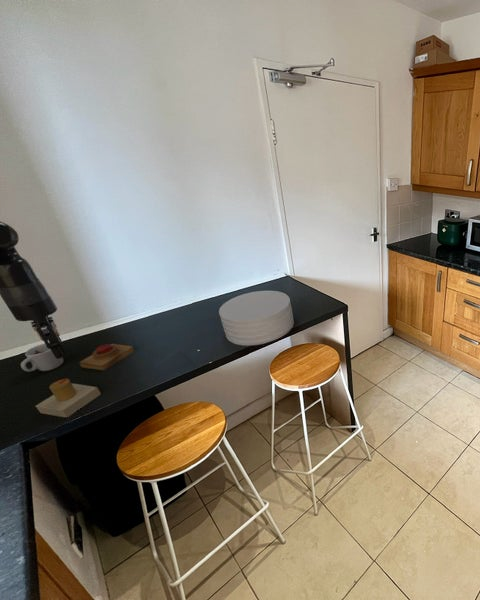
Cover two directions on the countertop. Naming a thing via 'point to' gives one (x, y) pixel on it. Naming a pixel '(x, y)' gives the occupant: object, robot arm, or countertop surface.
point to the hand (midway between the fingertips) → (59, 350)
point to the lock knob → (63, 389)
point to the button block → (107, 357)
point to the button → (104, 349)
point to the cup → (41, 359)
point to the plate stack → (257, 317)
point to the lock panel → (69, 402)
